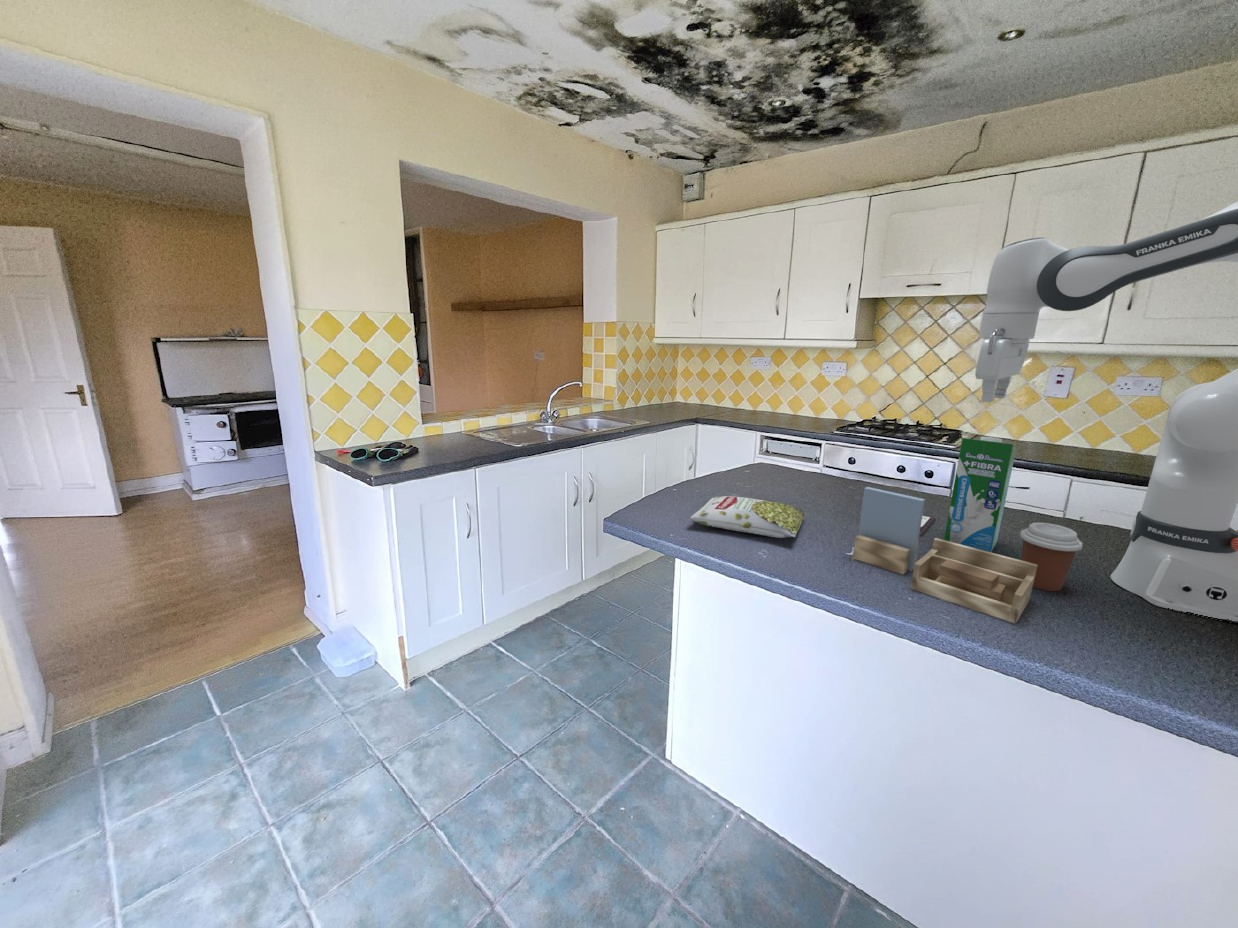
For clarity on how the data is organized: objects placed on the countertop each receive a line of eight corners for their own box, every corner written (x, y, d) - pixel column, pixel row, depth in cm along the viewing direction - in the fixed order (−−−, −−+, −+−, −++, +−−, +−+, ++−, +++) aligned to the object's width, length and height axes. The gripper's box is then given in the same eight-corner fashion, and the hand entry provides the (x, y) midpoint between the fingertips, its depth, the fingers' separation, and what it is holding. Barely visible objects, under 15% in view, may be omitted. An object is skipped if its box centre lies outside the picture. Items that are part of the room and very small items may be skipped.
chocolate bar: (877, 528, 125) (898, 510, 138) (877, 532, 125) (897, 513, 138) (918, 538, 119) (936, 518, 132) (918, 542, 119) (935, 522, 132)
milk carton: (996, 542, 119) (1018, 437, 112) (990, 554, 112) (1013, 443, 106) (951, 532, 124) (970, 431, 118) (943, 542, 118) (962, 437, 112)
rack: (1028, 605, 91) (1037, 564, 89) (1014, 628, 84) (1024, 585, 82) (929, 574, 103) (935, 537, 101) (909, 593, 95) (916, 553, 93)
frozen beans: (796, 524, 113) (689, 507, 123) (794, 549, 114) (687, 529, 125) (807, 500, 131) (713, 487, 142) (805, 522, 132) (711, 507, 143)
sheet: (913, 569, 103) (925, 499, 99) (910, 571, 102) (922, 500, 98) (858, 552, 111) (867, 486, 107) (855, 554, 110) (864, 488, 106)
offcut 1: (997, 583, 90) (999, 574, 89) (990, 590, 87) (992, 581, 87) (946, 567, 95) (948, 558, 95) (938, 574, 93) (940, 565, 93)
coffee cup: (1006, 572, 104) (1018, 517, 101) (1064, 583, 99) (1078, 525, 96) (1013, 591, 96) (1026, 532, 93) (1075, 604, 92) (1091, 542, 89)
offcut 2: (1003, 594, 89) (1005, 585, 89) (999, 602, 87) (1001, 593, 86) (945, 577, 96) (946, 568, 95) (939, 584, 93) (940, 575, 92)
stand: (914, 568, 105) (919, 542, 104) (902, 578, 101) (906, 551, 99) (865, 553, 113) (868, 528, 111) (851, 562, 108) (855, 537, 106)
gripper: (1014, 329, 90) (999, 406, 94) (1037, 329, 104) (1023, 397, 107) (973, 329, 95) (960, 403, 98) (1000, 329, 108) (987, 394, 112)
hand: (993, 400), depth 103 cm, fingers open, 8 cm apart
